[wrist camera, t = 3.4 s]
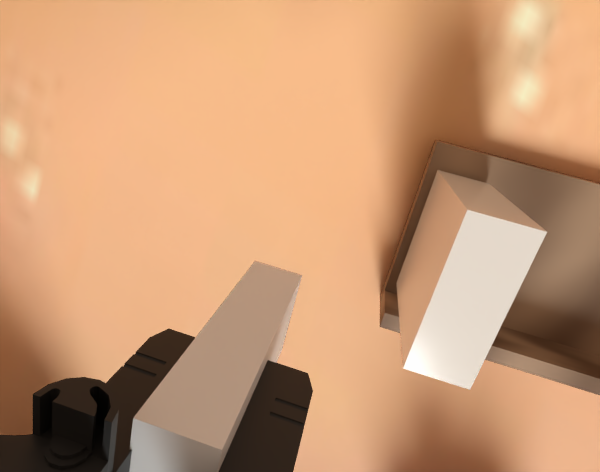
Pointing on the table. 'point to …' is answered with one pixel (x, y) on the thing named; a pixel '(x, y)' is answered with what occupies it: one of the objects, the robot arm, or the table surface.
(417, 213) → the rack
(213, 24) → the table surface
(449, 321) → the bookend
